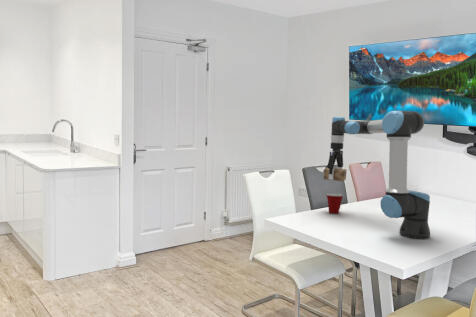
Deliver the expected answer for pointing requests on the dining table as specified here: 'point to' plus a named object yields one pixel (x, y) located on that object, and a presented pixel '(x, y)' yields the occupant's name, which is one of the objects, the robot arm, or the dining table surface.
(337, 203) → the plastic cup
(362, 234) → the dining table surface
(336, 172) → the brown wooden block
